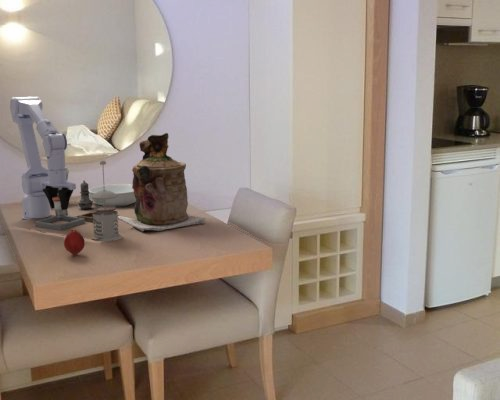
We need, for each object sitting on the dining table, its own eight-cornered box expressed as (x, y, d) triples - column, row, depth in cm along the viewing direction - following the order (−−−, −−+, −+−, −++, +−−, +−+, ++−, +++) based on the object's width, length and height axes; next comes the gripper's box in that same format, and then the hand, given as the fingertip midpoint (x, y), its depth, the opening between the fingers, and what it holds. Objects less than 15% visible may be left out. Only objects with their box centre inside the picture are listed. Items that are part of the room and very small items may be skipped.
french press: (94, 242, 191) (90, 163, 186) (86, 234, 201) (82, 158, 196) (125, 239, 195) (122, 161, 190) (115, 230, 205) (112, 157, 200)
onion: (67, 252, 181) (65, 226, 179) (86, 252, 181) (85, 225, 180) (62, 258, 175) (61, 231, 173) (83, 257, 175) (81, 230, 174)
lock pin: (52, 217, 209) (48, 197, 207) (62, 213, 213) (59, 193, 211) (61, 218, 207) (58, 198, 205) (71, 214, 210) (68, 194, 209)
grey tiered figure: (89, 213, 231) (87, 181, 229) (75, 212, 232) (73, 181, 230) (96, 209, 237) (94, 179, 234) (82, 209, 238) (80, 178, 235)
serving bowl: (117, 197, 259) (117, 181, 258) (153, 203, 247) (152, 187, 246) (78, 206, 243) (77, 189, 241) (114, 213, 231) (113, 195, 230)
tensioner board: (67, 221, 218) (67, 210, 218) (93, 213, 230) (92, 203, 229) (95, 225, 212) (94, 214, 211) (120, 217, 224) (119, 207, 223)
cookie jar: (175, 211, 234) (173, 127, 228) (208, 224, 214) (207, 133, 208) (114, 220, 220) (110, 131, 214) (144, 234, 201) (141, 137, 194)
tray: (35, 228, 208) (34, 221, 207) (60, 221, 218) (60, 214, 217) (60, 233, 202) (59, 225, 202) (85, 225, 212) (84, 218, 212)
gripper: (81, 169, 206) (83, 208, 209) (50, 166, 213) (52, 204, 215) (65, 172, 200) (68, 212, 203) (34, 169, 207) (37, 208, 209)
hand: (59, 208), depth 209 cm, fingers closed on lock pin, 4 cm apart
